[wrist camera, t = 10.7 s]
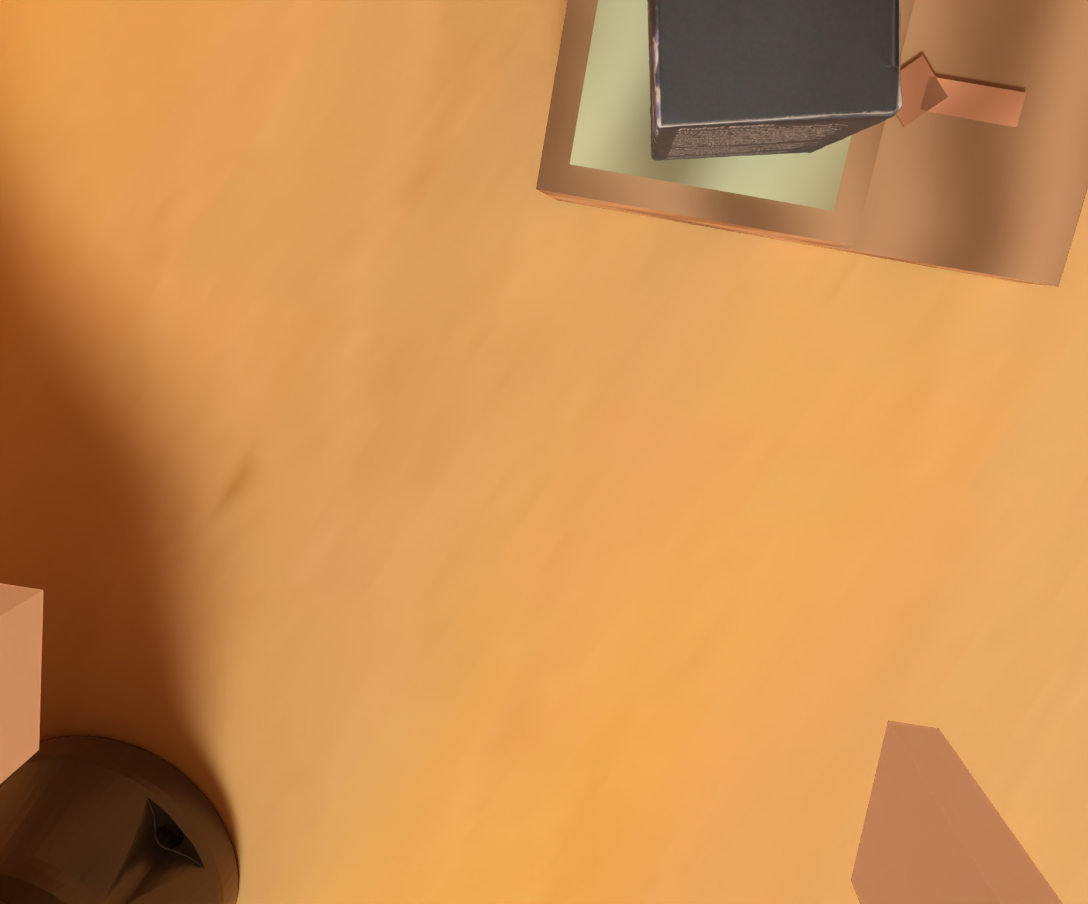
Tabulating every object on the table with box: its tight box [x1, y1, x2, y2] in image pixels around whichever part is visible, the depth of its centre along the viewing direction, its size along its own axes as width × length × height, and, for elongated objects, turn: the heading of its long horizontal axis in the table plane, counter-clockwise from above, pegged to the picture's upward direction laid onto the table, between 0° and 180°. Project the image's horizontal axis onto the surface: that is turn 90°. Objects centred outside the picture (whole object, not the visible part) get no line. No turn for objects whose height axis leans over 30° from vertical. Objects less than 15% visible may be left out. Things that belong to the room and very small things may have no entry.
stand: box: [536, 0, 1088, 287], centre depth 35 cm, size 20×12×9 cm, turn 80°
